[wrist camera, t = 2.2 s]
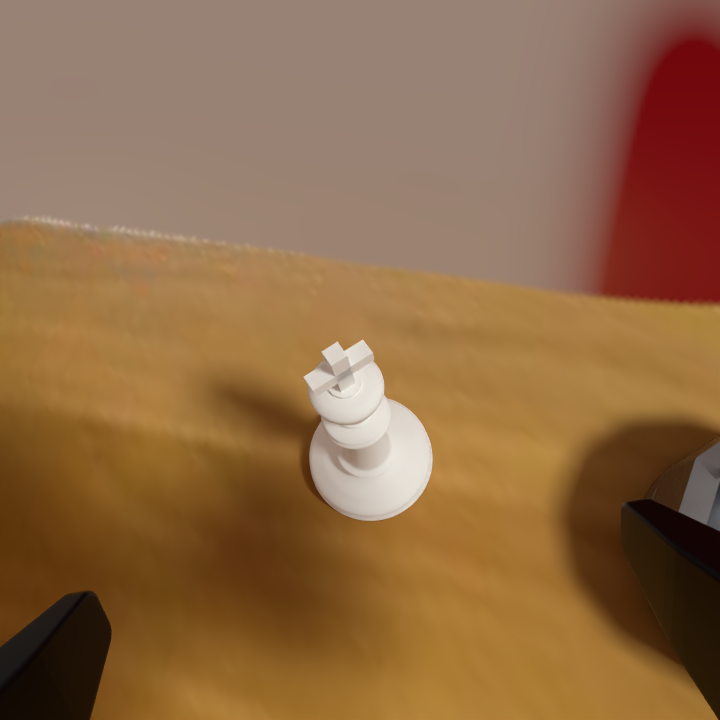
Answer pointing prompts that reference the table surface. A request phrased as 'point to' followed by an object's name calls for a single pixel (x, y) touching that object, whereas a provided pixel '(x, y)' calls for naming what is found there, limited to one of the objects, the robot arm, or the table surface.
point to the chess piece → (364, 439)
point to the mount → (692, 485)
